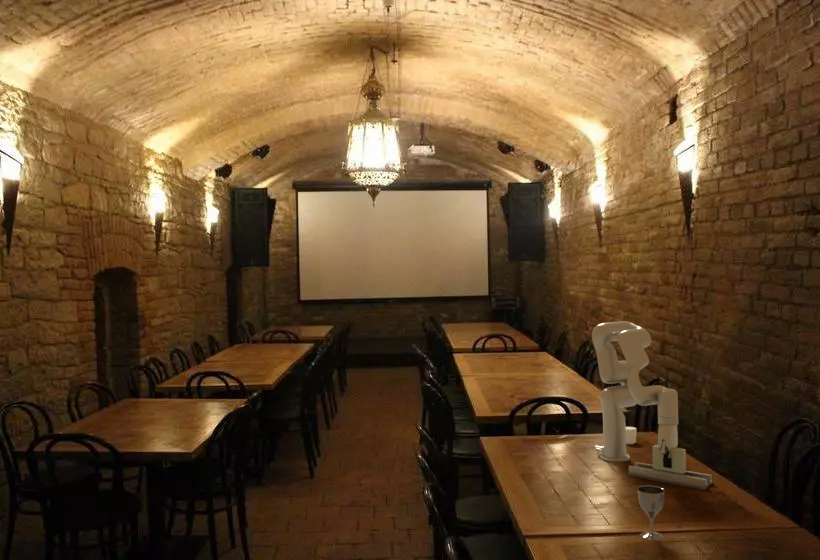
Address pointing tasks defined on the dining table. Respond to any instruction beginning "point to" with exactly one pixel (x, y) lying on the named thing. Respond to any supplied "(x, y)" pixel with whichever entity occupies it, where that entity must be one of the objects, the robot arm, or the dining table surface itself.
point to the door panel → (677, 460)
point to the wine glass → (651, 507)
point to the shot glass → (630, 435)
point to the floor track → (671, 476)
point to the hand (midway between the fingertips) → (669, 465)
